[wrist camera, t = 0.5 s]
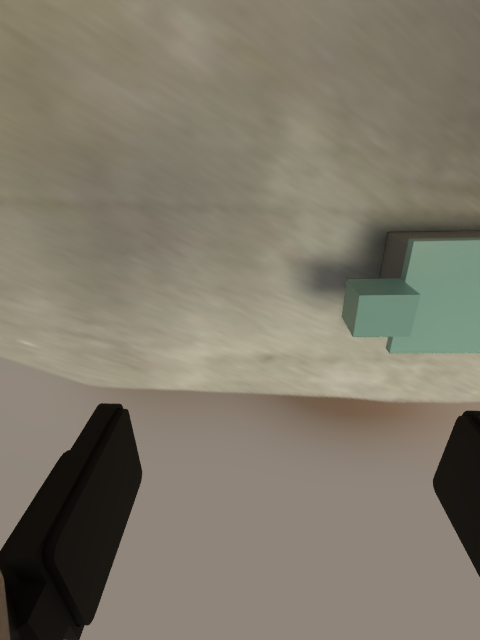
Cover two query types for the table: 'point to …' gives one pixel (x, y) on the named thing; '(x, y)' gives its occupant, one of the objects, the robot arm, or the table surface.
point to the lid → (422, 300)
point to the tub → (398, 247)
